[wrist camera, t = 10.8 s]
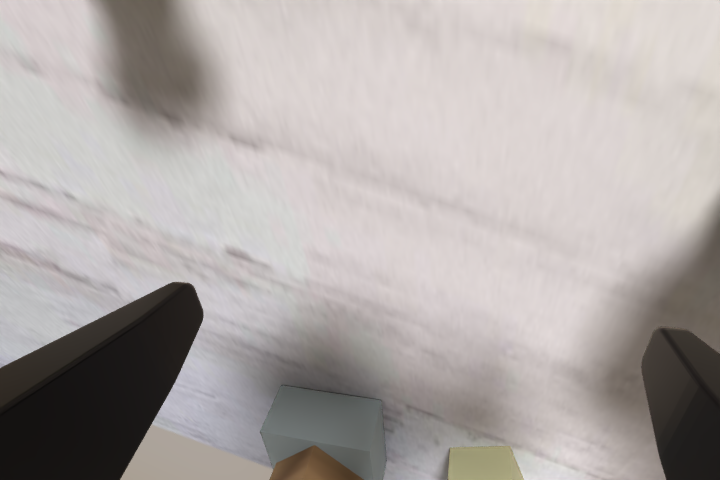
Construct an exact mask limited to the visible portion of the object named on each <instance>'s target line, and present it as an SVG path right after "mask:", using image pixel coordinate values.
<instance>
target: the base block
mask: <svg viewBox="0 0 720 480" xmlns="http://www.w3.org/2000/svg"><path fill="white" fill-rule="evenodd" d="M260 433H261V436H262V439H263V442H264V444H265V447H266V450H267V453H268V456H269V458H270V461H271V464H272V467H273V470H274V468H275V465H276V463H277V462H280V461H282V460H284V459H286V458H288V457H290V456H292V455H294V454H296V453H299V452H301V451H303V450H305V449H307V448H309V447H311V446H313V445H316V446H317V447H318V448H320V449H321V450H323V451H324V452H325V453H327V454H328V455H330V456H331V457H333V458H334V459H335V460H337V461H338V462H340V463H341V464H342V465H344V466H345V467H347V468H348V469H350V470H351V471H352V472H354V473H355V474H357V475H358V476H359V477H361V478H362V479H364V480H383V477H384V471H385V466H386V461H387V460H386V448H385V437H384V425H383V414H382V403H381V400H376V399H369V398H363V397H356V396H349V395H343V394H336V393H330V392H323V391H316V390H310V389H303V388H297V387H290V386H283V385H281V387H280V389H279V392H278V394H277V396H276V398H275V400H274V402H273V404H272V407H271V409H270V411H269V413H268V415H267V417H266V419H265V422H264V424H263V426H262V428H261V430H260Z"/></svg>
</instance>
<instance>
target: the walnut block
mask: <svg viewBox="0 0 720 480" xmlns="http://www.w3.org/2000/svg"><path fill="white" fill-rule="evenodd" d="M270 480H364V479H362V478H361V477H359V476H358V475H357V474H355V473H354V472H352V471H351V470H350V469H348V468H347V467H345V466H344V465H342V464H341V463H340V462H338V461H337V460H335V459H334V458H333V457H331V456H330V455H328V454H327V453H325V452H324V451H323V450H321V449H320V448H318V447H317V446H316V445H313V446H311V447H309V448H307V449H305V450H303V451H301V452H299V453H296V454H294V455H292V456H290V457H288V458H286V459H284V460H282V461H280V462H277V463H276V465H275V468H274V470H273V473H272V475H271V477H270Z"/></svg>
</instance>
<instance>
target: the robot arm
mask: <svg viewBox="0 0 720 480" xmlns="http://www.w3.org/2000/svg"><path fill="white" fill-rule="evenodd" d="M202 321H203V309H202V306H201V304H200V301H199V298H198V296H197V293H196V290H195V288H194V286H193V285H192V284H190V283H184V282H172V283H170V284H168V285H166V286H164V287H162V288H160V289H158V290H156V291H154V292H152V293H150V294H148V295H146V296H144V297H142V298H140V299H138V300H136V301H134V302H132V303H130V304H128V305H126V306H123V307H121V308H119V309H117V310H115V311H113V312H111V313H109V314H107V315H105V316H103V317H101V318H99V319H97V320H95V321H93V322H91V323H89V324H87V325H85V326H83V327H81V328H79V329H77V330H75V331H73V332H71V333H69V334H67V335H65V336H63V337H61V338H59V339H57V340H55V341H53V342H51V343H49V344H47V345H45V346H43V347H41V348H39V349H37V350H35V351H33V352H31V353H29V354H27V355H25V356H23V357H21V358H19V359H17V360H15V361H13V362H11V363H9V364H7V365H5V366H3V367H1V368H0V480H120V478H121V477H122V475H123V473H124V472H125V470H126V468H127V466H128V464H129V463H130V461H131V459H132V457H133V456H134V454H135V452H136V450H137V449H138V447H139V445H140V443H141V442H142V440H143V438H144V436H145V434H146V433H147V431H148V429H149V428H150V426H151V424H152V422H153V421H154V419H155V417H156V415H157V413H158V412H159V410H160V408H161V406H162V405H163V403H164V401H165V399H166V398H167V396H168V394H169V392H170V390H171V389H172V387H173V385H174V383H175V381H176V379H177V377H178V375H179V373H180V370H181V368H182V366H183V364H184V362H185V359H186V357H187V355H188V353H189V350H190V348H191V346H192V344H193V341H194V339H195V337H196V335H197V332H198V330H199V328H200V326H201V323H202ZM641 368H642V376H643V381H644V386H645V390H646V395H647V400H648V405H649V410H650V415H651V420H652V424H653V429H654V434H655V439H656V444H657V448H658V452H659V457H660V461H661V464H662V467H663V470H664V474H665V477H666V480H720V354H719V353H718V352H716V351H715V350H714V349H712V348H711V347H710V346H708V345H707V344H706V343H704V342H703V341H702V340H701V339H699V338H698V337H697V336H695V335H694V334H693V333H691V332H690V331H688V330H686V329H682V328H673V327H658V328H656V329H655V330H654V332H653V334H652V336H651V339H650V341H649V344H648V346H647V349H646V351H645V354H644V356H643V359H642V366H641Z"/></svg>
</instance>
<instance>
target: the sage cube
mask: <svg viewBox="0 0 720 480" xmlns="http://www.w3.org/2000/svg"><path fill="white" fill-rule="evenodd" d="M448 480H524V479H523V476H522V474H521V471H520V469H519V466H518V464H517V462H516V459H515V457H514V454H513V452H512V450H511V447H510V446H492V447H453V448H450V455H449V471H448Z"/></svg>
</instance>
